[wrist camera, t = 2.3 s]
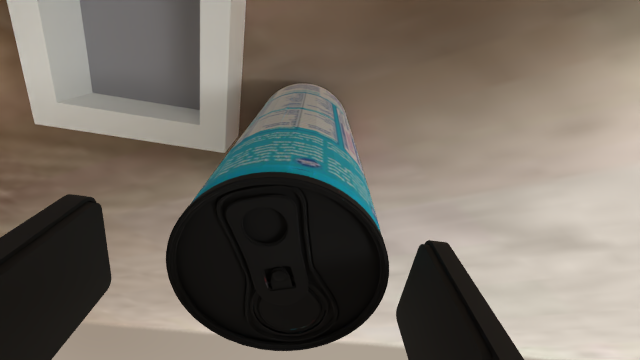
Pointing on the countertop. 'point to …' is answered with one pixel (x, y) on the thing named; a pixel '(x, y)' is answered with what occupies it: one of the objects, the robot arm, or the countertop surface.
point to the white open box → (135, 67)
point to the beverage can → (283, 232)
